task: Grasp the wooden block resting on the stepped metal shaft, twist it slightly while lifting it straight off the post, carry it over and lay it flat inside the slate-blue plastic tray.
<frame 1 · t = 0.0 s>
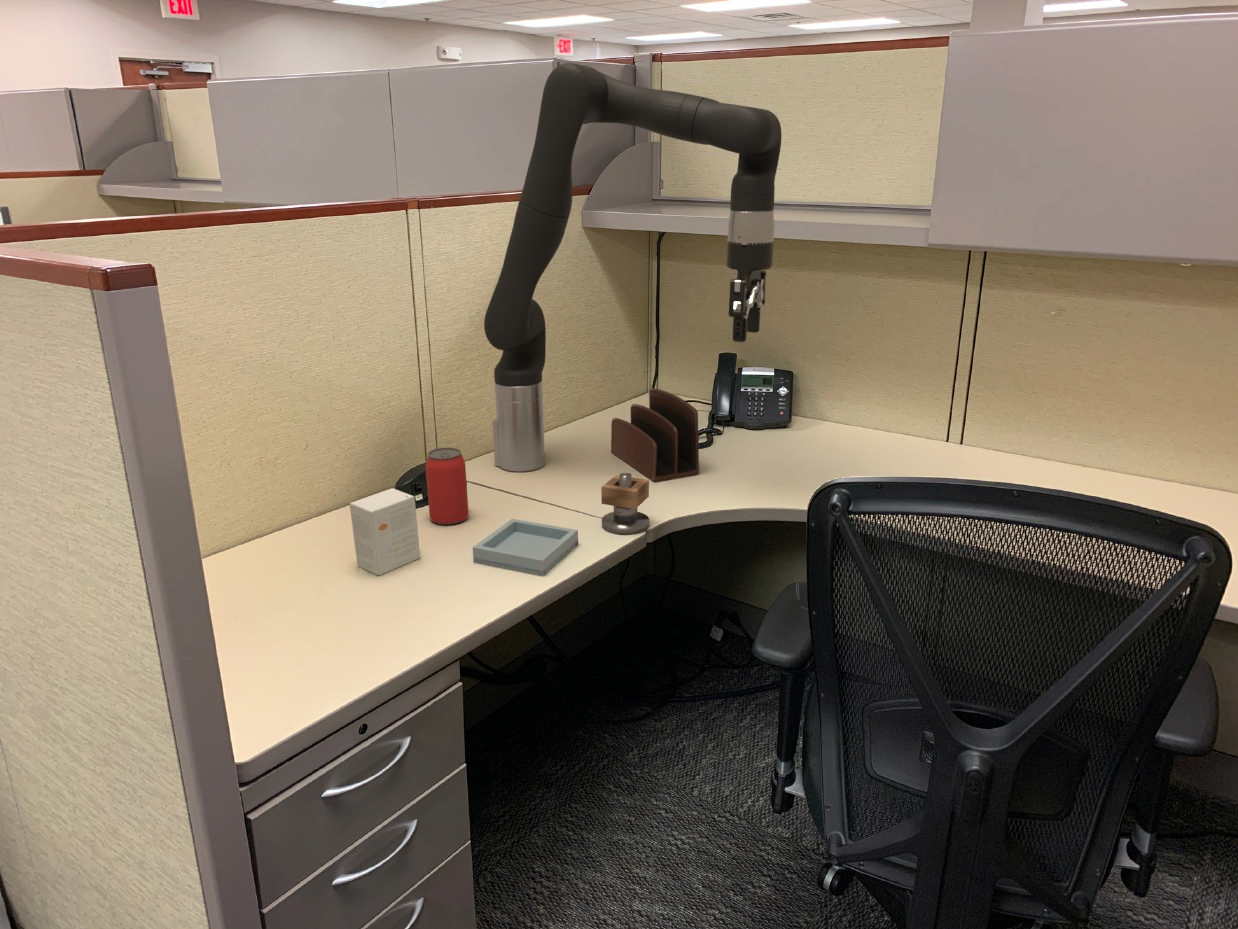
hand: (746, 336, 149), 29 cm above the table, fingers open, 8 cm apart
tray: (527, 553, 136), on the table
letter holder: (653, 465, 176), on the table
stepped metal shaft: (625, 525, 146), on the table
wooden block: (625, 500, 145), point 4 cm above the table, touching stepped metal shaft
small box: (389, 563, 133), on the table
beer can: (449, 519, 149), on the table
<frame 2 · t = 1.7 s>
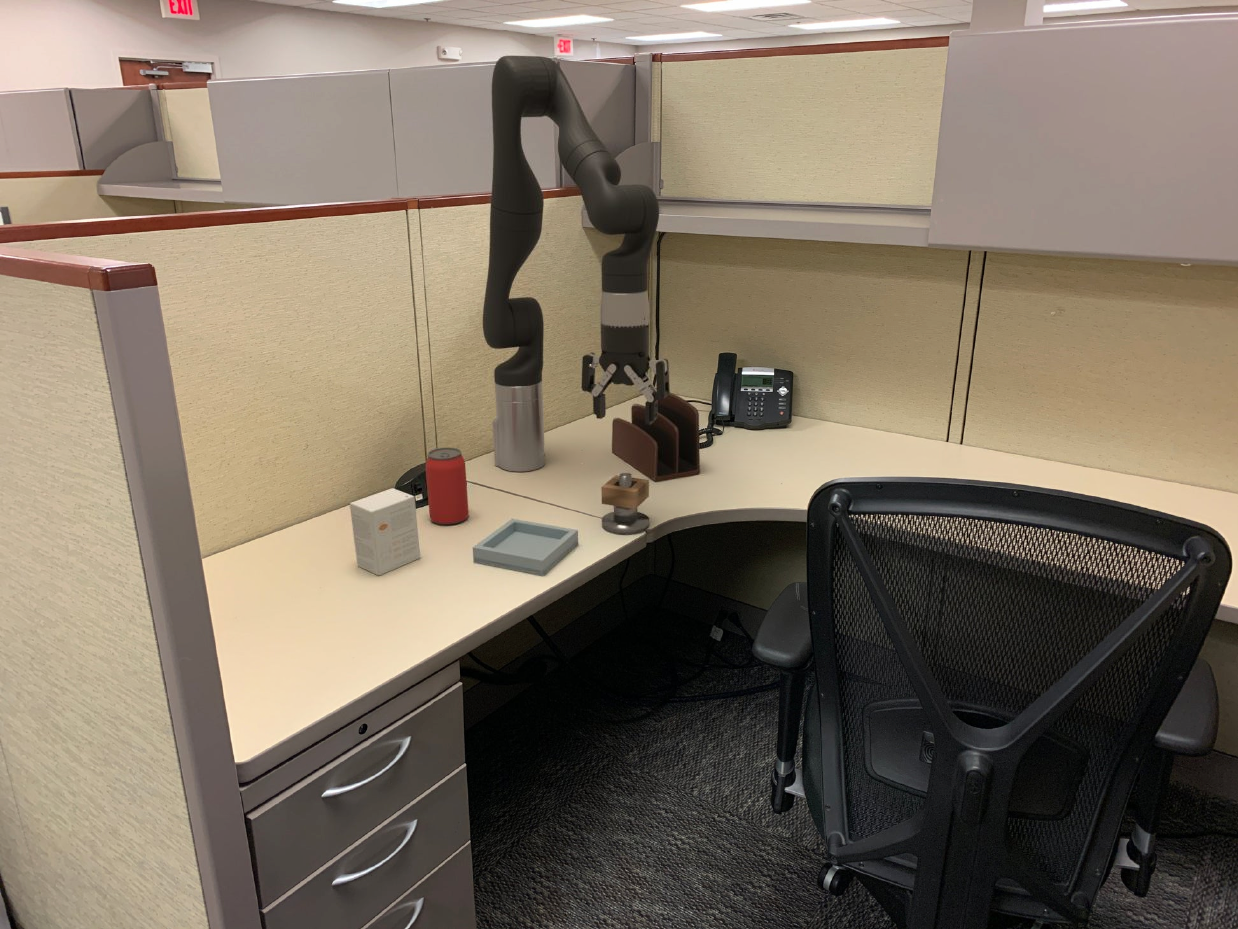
hand: (625, 420, 140), 18 cm above the table, fingers open, 8 cm apart
nothing on the table moved.
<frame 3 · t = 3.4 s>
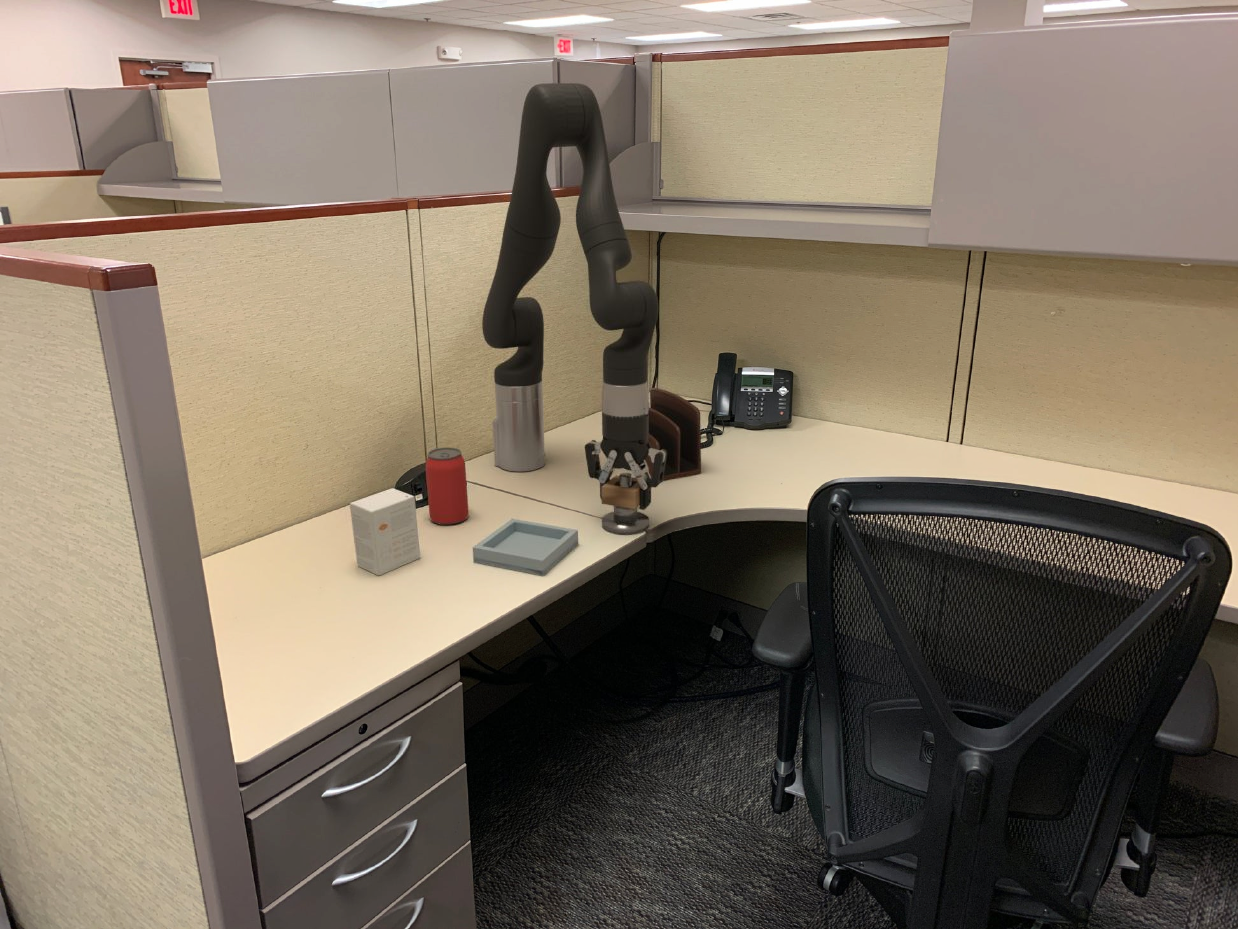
hand: (625, 505, 145), 4 cm above the table, fingers closed on wooden block, 6 cm apart
wooden block: (625, 500, 145), point 4 cm above the table, touching gripper, stepped metal shaft
everything else where it was.
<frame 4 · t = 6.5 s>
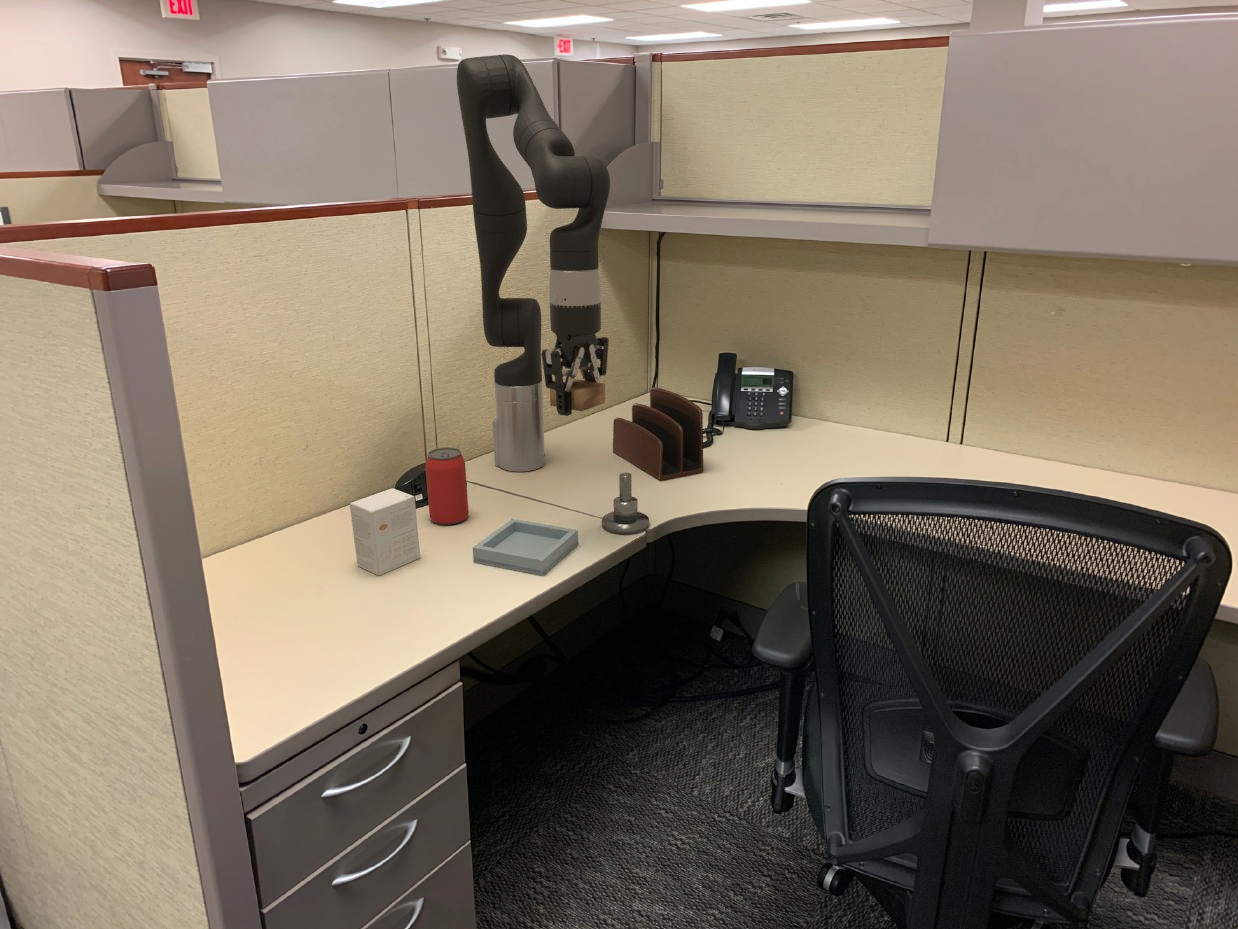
hand: (577, 409, 134), 22 cm above the table, fingers closed on wooden block, 6 cm apart
wooden block: (577, 404, 133), point 23 cm above the table, touching gripper
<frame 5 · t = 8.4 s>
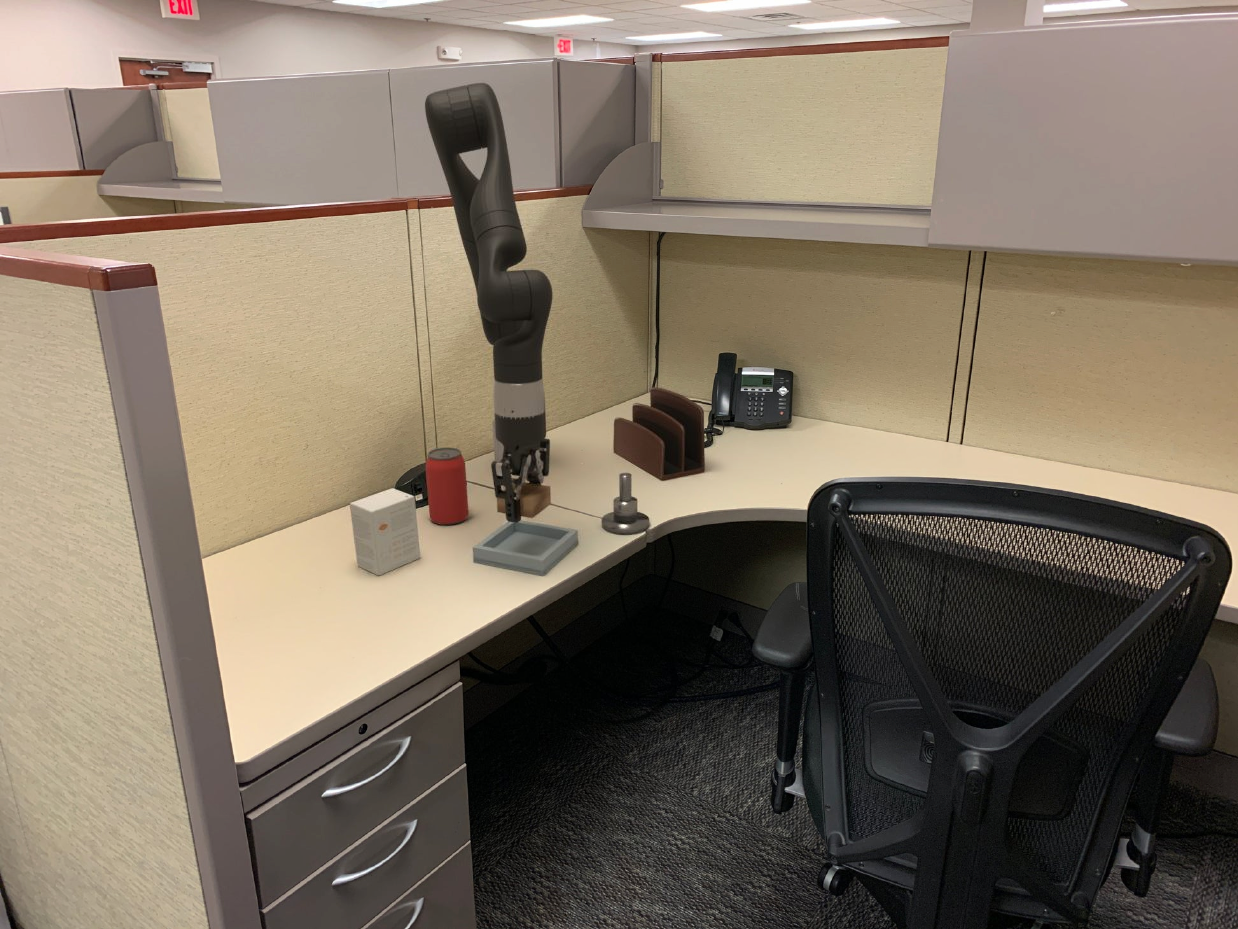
hand: (524, 513, 134), 7 cm above the table, fingers closed on wooden block, 6 cm apart
wooden block: (524, 508, 133), point 8 cm above the table, touching gripper
when the fingers open (2 cm above the table, at t = 9.9 s): wooden block drops 2 cm, resting on tray.
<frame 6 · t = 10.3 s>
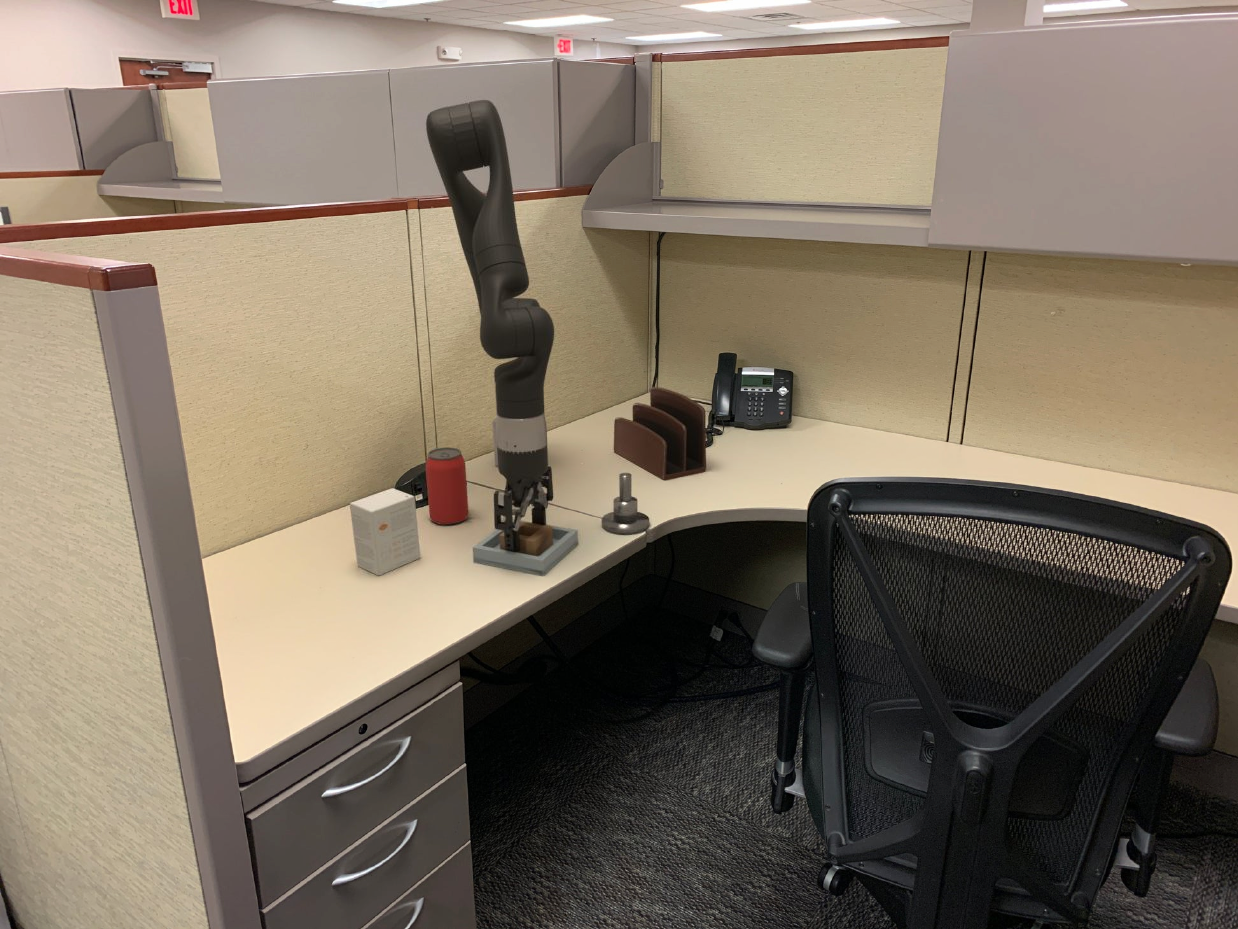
hand: (526, 540, 135), 2 cm above the table, fingers open, 8 cm apart
wooden block: (526, 548, 136), point 1 cm above the table, touching tray
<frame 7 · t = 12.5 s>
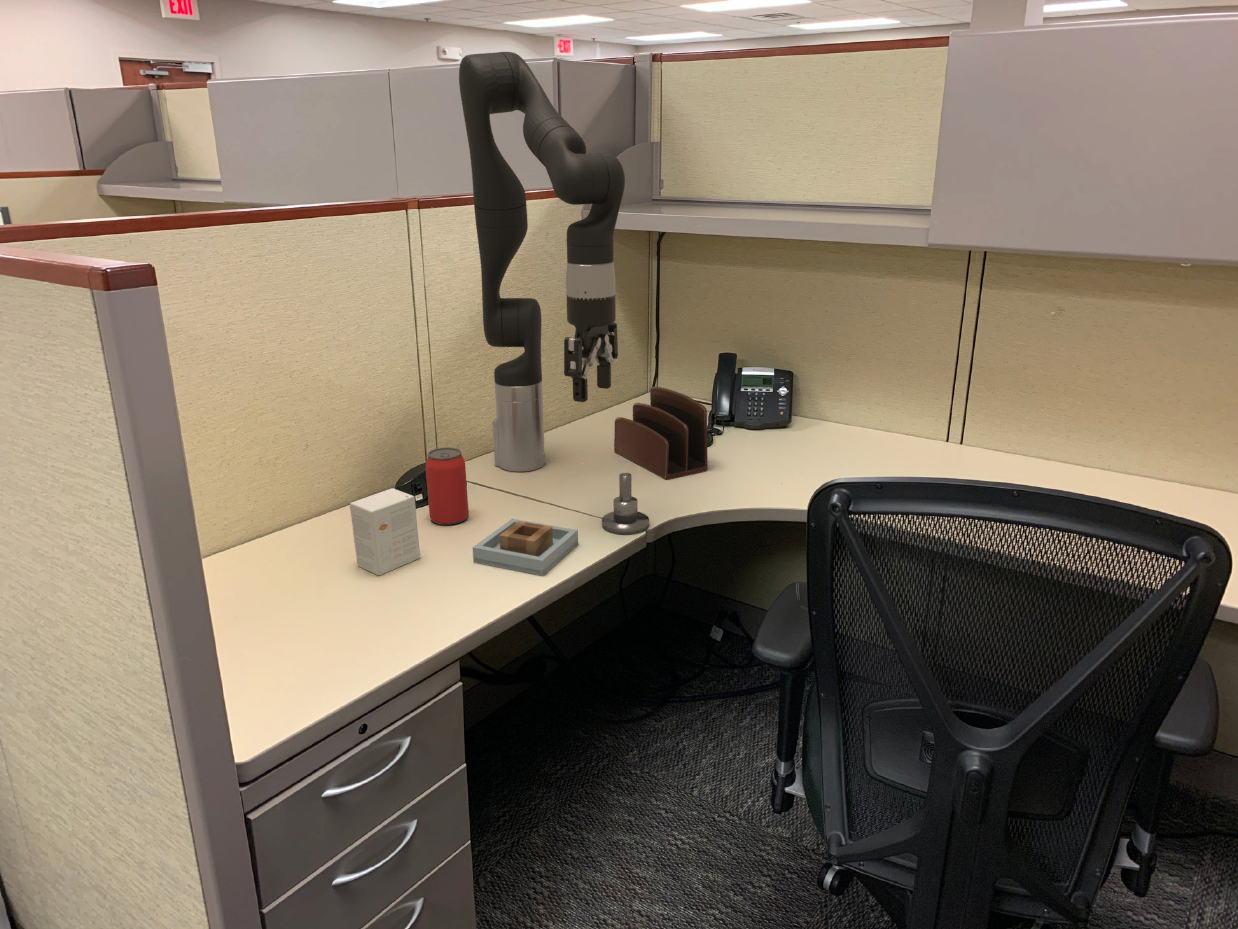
hand: (592, 394, 139), 23 cm above the table, fingers open, 8 cm apart
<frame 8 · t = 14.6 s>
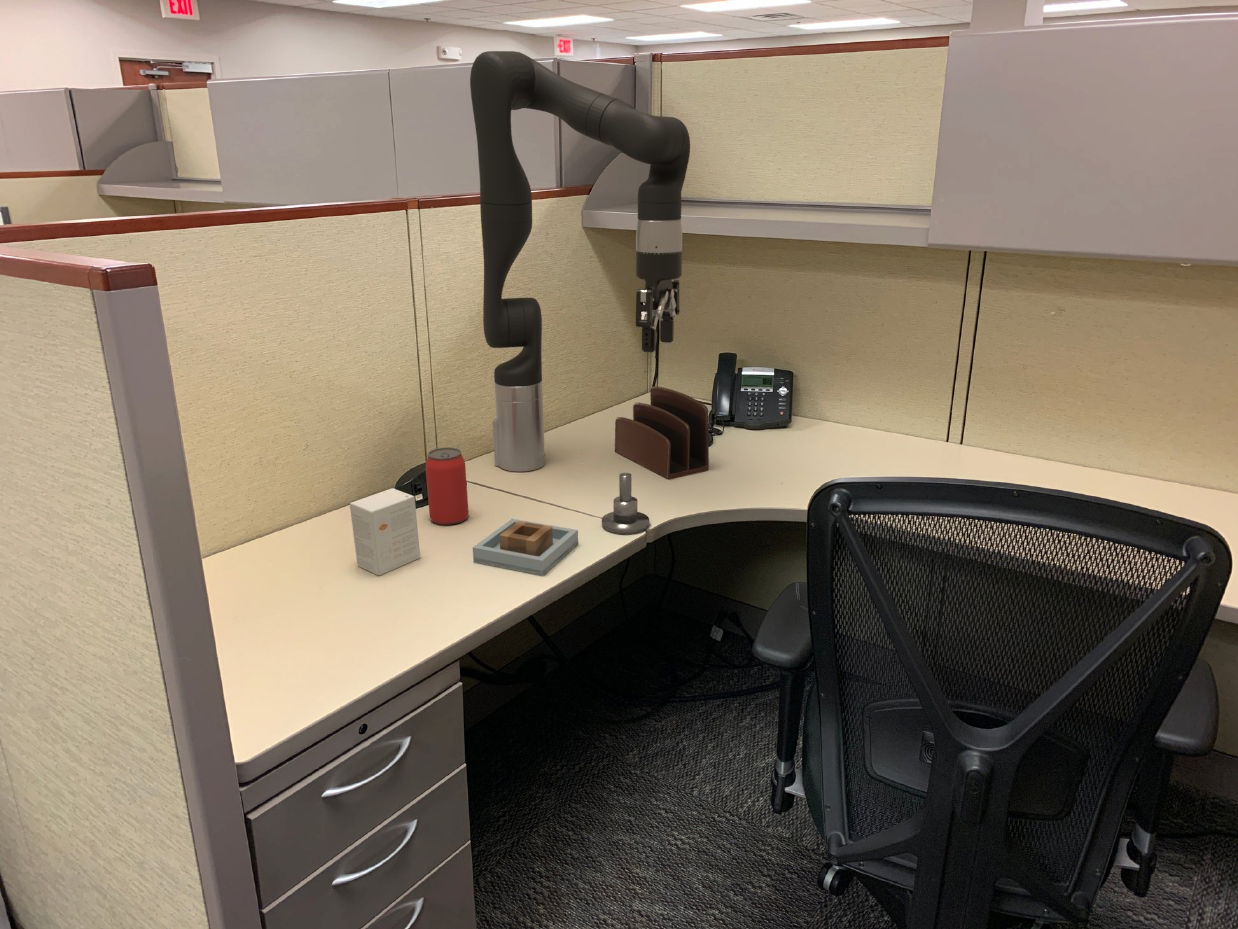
hand: (658, 346, 147), 28 cm above the table, fingers open, 8 cm apart
at the end: wooden block inside the target area on the tray (0.0 cm from its centre), point 0.8 cm above the tray's base; wooden block tilted 0°; the gripper is holding nothing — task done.
